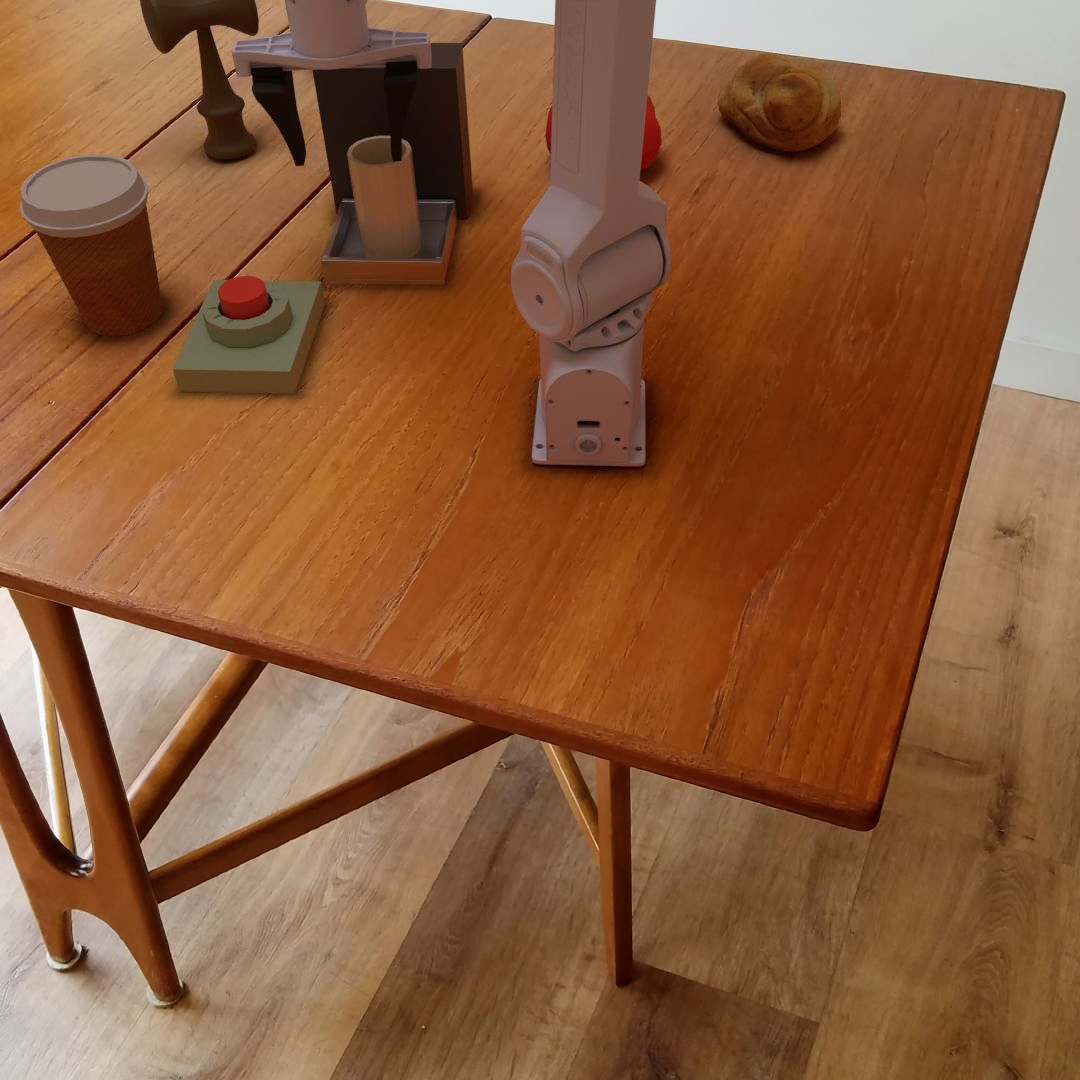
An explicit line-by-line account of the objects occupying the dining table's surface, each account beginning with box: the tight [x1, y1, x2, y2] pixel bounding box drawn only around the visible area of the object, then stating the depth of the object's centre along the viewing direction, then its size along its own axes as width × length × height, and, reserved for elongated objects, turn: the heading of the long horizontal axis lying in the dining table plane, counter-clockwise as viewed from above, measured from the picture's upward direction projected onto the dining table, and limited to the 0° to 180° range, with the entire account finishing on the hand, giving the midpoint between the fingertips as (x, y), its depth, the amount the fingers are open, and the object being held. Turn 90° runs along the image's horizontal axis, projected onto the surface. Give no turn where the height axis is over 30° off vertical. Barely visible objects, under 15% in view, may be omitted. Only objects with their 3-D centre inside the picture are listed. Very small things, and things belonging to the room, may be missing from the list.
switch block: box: [172, 279, 326, 395], centre depth 91 cm, size 12×9×4 cm
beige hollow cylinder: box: [347, 136, 422, 258], centre depth 98 cm, size 5×5×9 cm
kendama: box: [139, 0, 260, 160], centre depth 108 cm, size 6×10×20 cm, turn 120°
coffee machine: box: [311, 42, 474, 221], centre depth 102 cm, size 5×12×14 cm, turn 87°
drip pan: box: [320, 198, 458, 286], centre depth 100 cm, size 10×10×2 cm
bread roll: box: [717, 53, 842, 153], centre depth 112 cm, size 13×10×8 cm
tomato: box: [544, 94, 662, 171], centre depth 109 cm, size 10×11×6 cm
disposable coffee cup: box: [19, 153, 164, 337], centre depth 91 cm, size 10×10×12 cm
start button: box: [218, 275, 269, 320], centre depth 89 cm, size 4×4×2 cm
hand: (349, 157), depth 92 cm, fingers open, 7 cm apart
